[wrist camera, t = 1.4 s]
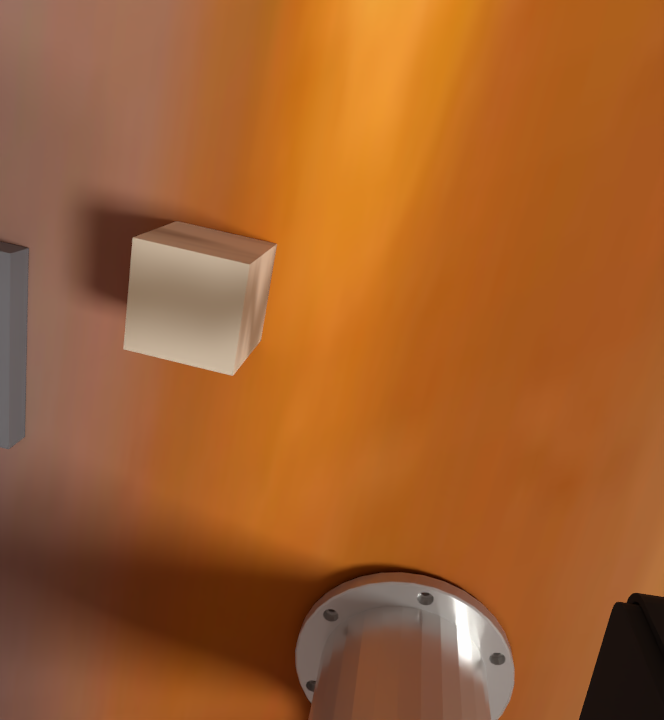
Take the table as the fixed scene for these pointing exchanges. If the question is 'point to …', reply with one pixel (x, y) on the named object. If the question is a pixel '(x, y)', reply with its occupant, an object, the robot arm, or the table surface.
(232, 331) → the beech cube
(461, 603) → the robot arm
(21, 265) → the serving board
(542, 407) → the table surface
